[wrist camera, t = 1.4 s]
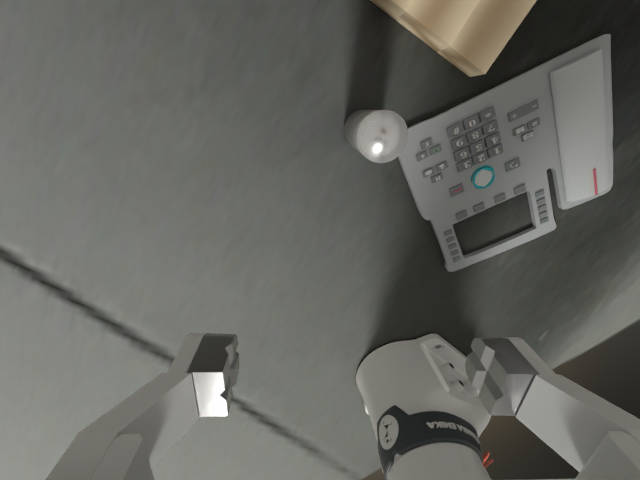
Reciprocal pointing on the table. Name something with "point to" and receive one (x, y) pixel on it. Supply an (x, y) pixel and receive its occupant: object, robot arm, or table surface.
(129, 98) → the table surface
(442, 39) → the socket block
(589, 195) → the office telephone
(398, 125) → the peg
